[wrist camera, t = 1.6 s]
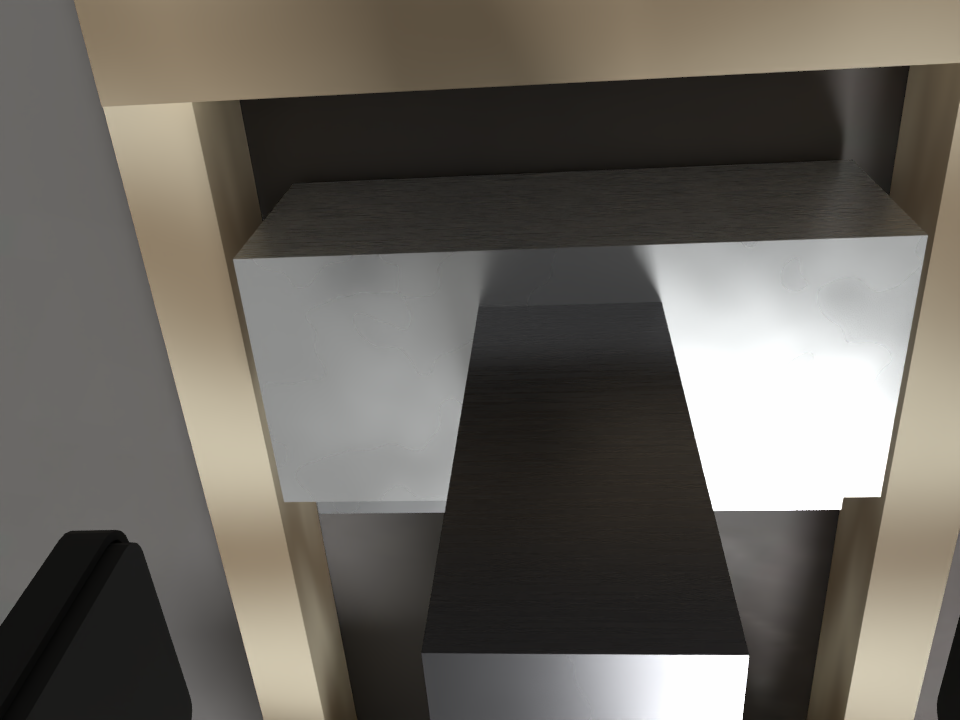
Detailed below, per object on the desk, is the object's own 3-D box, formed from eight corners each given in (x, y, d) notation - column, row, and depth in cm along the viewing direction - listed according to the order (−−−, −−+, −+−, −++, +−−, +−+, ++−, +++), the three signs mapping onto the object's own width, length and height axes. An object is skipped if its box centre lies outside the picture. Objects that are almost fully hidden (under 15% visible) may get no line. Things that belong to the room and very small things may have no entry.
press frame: (840, 846, 28) (936, 1177, 21) (330, 833, 29) (260, 1138, 22) (1035, -114, 15) (1443, -91, 8) (125, -52, 17) (-180, 12, 10)
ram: (819, 407, 20) (1086, 956, 10) (332, 416, 21) (133, 921, 11) (852, 159, 17) (1262, 570, 7) (293, 182, 18) (-17, 572, 8)
